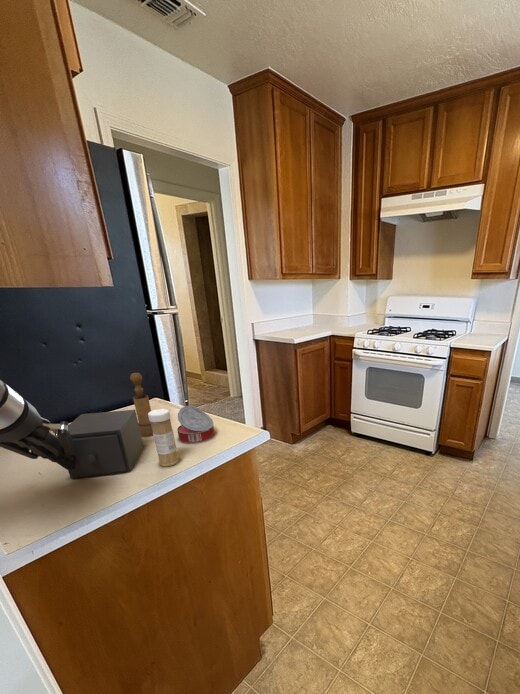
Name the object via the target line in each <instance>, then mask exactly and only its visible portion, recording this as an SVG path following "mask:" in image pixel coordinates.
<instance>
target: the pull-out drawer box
mask: <svg viewBox="0 0 520 694" xmlns="http://www.w3.org/2000/svg"><path fill="white" fill-rule="evenodd" d="M72 439H73V441H74V456H75V457H76V468H75V469H72V470H67V472H68V475H69V477H76V476H85V475H93V474H101V473H109V472H118V471H126V469H127V467H126V463H125V459H124V455H123V452H122V448H121V444H120V440H119V436H118V434H117V433H116V434H106V435H96V436H86V437H76V438H72Z"/></svg>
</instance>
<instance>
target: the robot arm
mask: <svg viewBox="0 0 520 694" xmlns="http://www.w3.org/2000/svg"><path fill="white" fill-rule="evenodd" d="M68 425H70V423H69V421H66V420H61V421H60V422H59V423H51V421H50V420H48V419H46V418H43V417H41V415H40V413H39V412H38V410H37V409H36V407H35V406H34V405H32V404H31V403H30V402H29V401H28V400H26V399H25V398H24V397H23V396H21V394H19V393H18V392H17V391H16V390H14V389H13V388H11V387H10V386H9V385H8V384H7V383H6V382H4V381H3V380H2V379H0V448H2V449H5V450H7V451H10V452H13V453H16V454H18V455H21V456H23V457H26V458H29V459H31V460H37V459H39V458H40V457H41V458H42V459H43V460H48V461H50V462H51V463H56V464H58V465H59V466H61V467H62V468H64V469H65V470H66V471H68V470H72V469H75V468H76V457H75V456H74V441H73V439H72V437H71V435H70V433H69V431H68ZM50 431H51V432H52V433H51V432H50ZM57 437H58V438H57Z"/></svg>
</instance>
